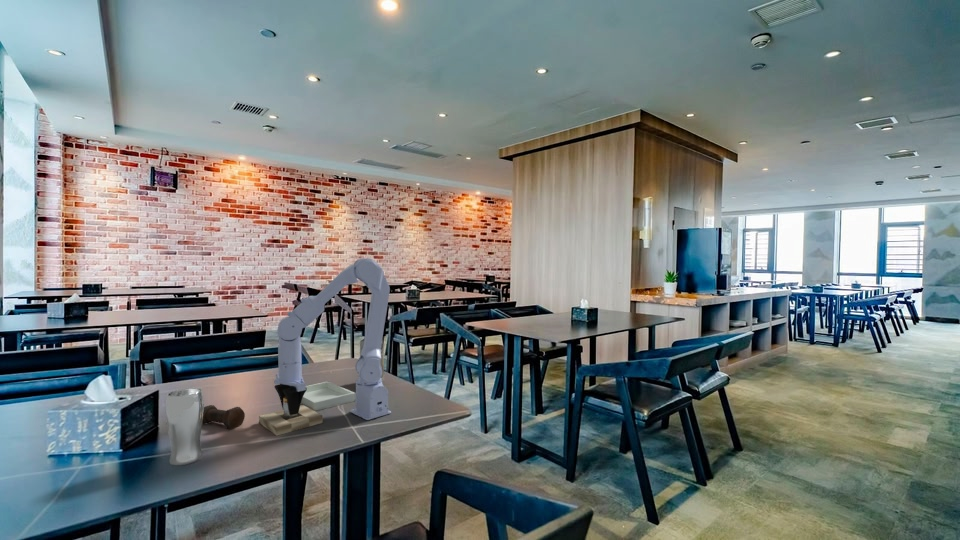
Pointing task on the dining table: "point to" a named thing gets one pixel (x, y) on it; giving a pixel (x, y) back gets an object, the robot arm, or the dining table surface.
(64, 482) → the dining table surface
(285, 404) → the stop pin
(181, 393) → the beer glass
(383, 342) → the coffee box
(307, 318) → the robot arm
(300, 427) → the wooden square frame
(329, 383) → the parts tray
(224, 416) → the dark brown dumbbell
